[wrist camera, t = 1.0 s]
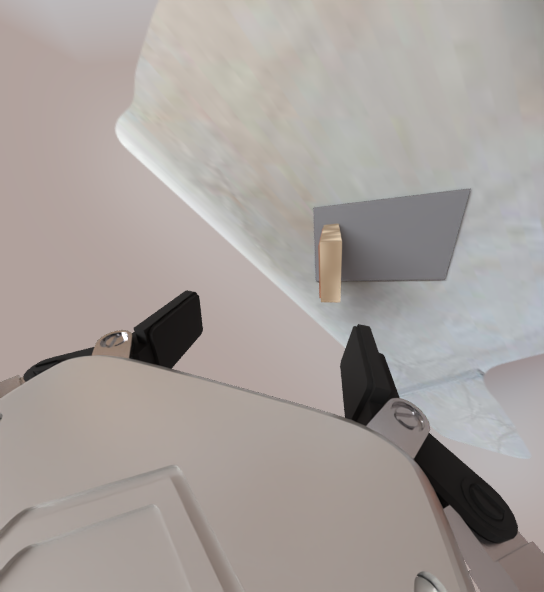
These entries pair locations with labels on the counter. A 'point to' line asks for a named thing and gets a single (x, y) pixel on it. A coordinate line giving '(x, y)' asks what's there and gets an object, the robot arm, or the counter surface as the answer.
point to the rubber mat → (395, 236)
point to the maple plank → (330, 263)
